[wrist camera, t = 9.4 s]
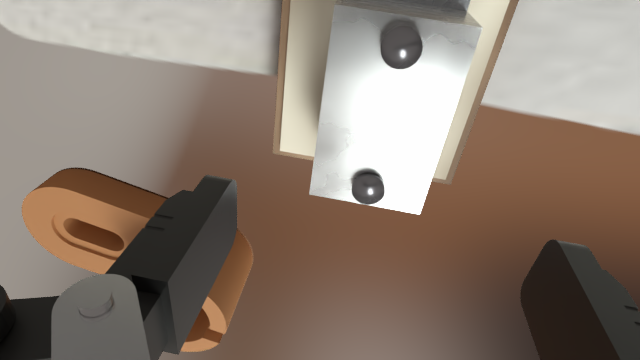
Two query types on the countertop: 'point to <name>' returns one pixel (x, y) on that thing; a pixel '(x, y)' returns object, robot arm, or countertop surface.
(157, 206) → the bracket
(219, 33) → the countertop surface
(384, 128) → the block
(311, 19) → the stand
